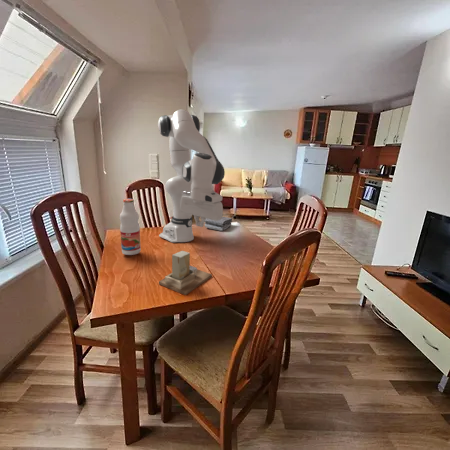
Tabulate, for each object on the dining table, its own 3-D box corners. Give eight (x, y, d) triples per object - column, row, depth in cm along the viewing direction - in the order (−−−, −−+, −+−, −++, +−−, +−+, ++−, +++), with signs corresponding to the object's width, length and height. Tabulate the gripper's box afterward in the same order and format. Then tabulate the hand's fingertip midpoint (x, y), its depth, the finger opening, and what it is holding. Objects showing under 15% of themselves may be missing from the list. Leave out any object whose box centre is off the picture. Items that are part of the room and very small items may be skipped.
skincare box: (179, 285, 99) (179, 257, 95) (171, 282, 101) (171, 254, 97) (190, 279, 104) (190, 252, 100) (182, 276, 106) (182, 249, 103)
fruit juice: (143, 248, 135) (140, 198, 127) (137, 255, 126) (135, 201, 118) (125, 248, 135) (122, 197, 127) (119, 255, 126) (115, 200, 118)
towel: (203, 228, 177) (203, 217, 174) (215, 222, 193) (215, 212, 191) (222, 232, 171) (223, 221, 169) (233, 225, 187) (233, 215, 185)
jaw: (183, 274, 107) (183, 267, 106) (187, 271, 110) (187, 264, 109) (192, 278, 105) (192, 270, 104) (196, 275, 107) (196, 267, 106)
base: (158, 284, 101) (158, 274, 100) (187, 268, 116) (187, 259, 115) (185, 295, 95) (185, 285, 94) (211, 276, 110) (212, 268, 108)
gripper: (177, 191, 105) (176, 222, 109) (217, 199, 95) (215, 233, 99) (186, 189, 110) (185, 219, 114) (226, 197, 100) (223, 229, 104)
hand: (199, 226), depth 107 cm, fingers closed
